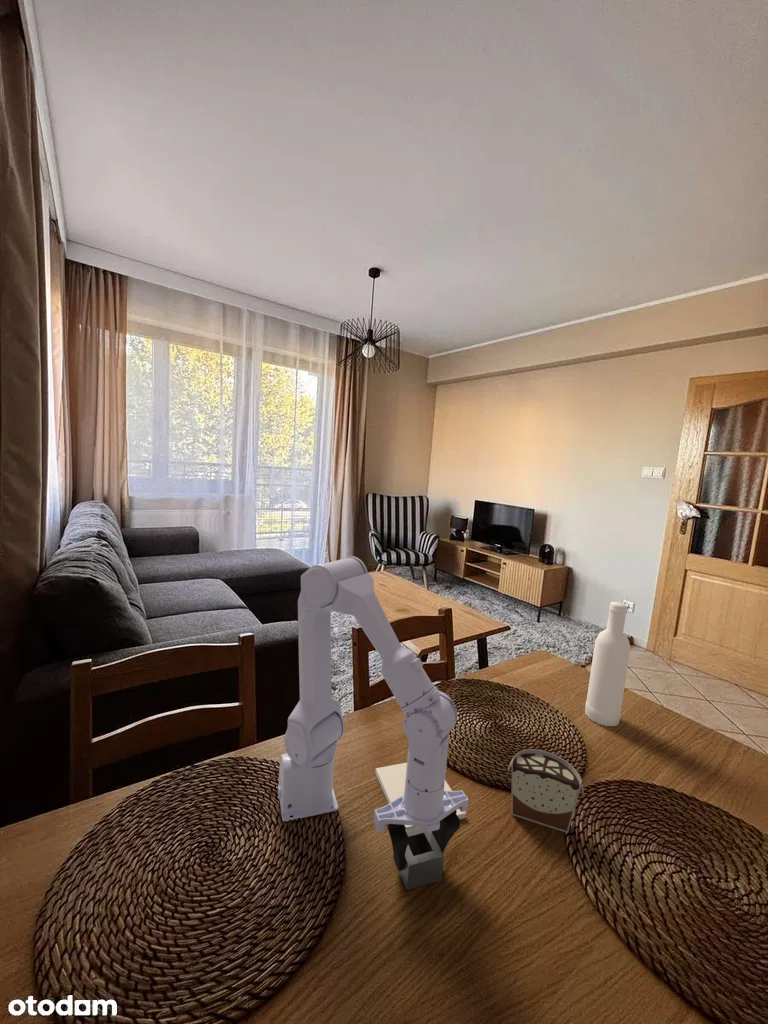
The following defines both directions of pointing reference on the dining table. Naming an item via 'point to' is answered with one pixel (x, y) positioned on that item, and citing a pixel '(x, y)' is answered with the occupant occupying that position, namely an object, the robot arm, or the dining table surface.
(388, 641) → the robot arm
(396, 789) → the shaft board
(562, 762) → the food container
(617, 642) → the bottle
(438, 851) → the collar
